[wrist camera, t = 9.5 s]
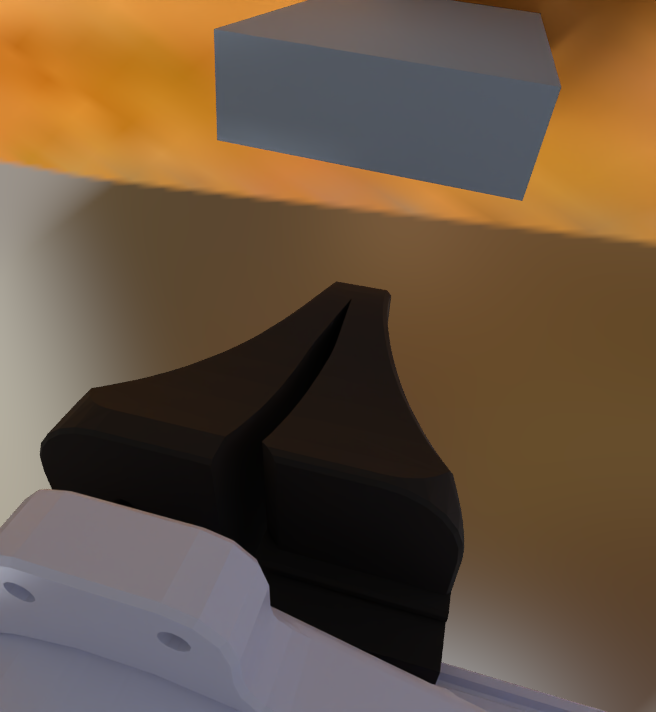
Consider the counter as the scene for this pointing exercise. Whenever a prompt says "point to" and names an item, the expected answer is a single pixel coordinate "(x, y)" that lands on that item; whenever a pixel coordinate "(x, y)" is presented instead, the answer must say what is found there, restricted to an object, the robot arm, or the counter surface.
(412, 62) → the domino
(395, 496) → the robot arm
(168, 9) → the counter surface
